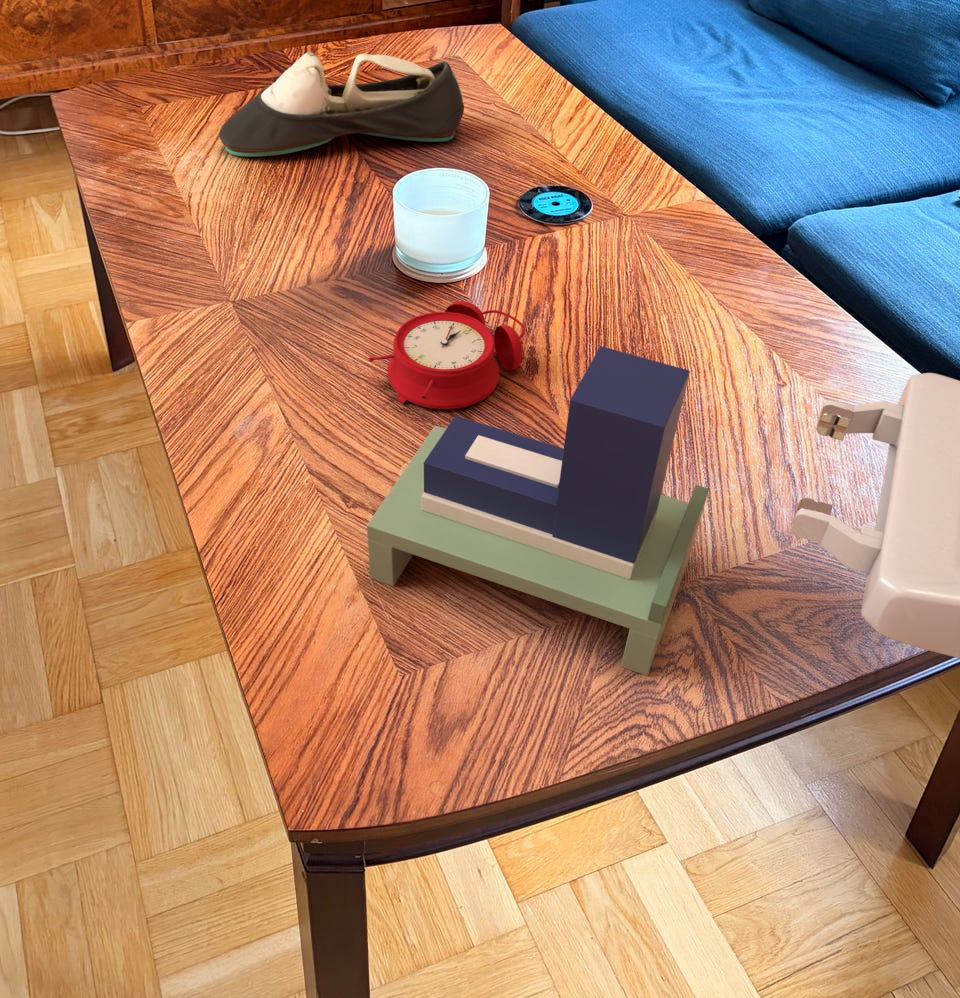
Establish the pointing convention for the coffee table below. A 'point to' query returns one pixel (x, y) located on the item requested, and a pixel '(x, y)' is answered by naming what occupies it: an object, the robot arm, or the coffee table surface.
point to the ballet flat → (345, 108)
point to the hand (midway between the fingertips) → (807, 462)
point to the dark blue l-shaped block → (569, 468)
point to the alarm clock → (451, 357)
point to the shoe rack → (541, 560)
